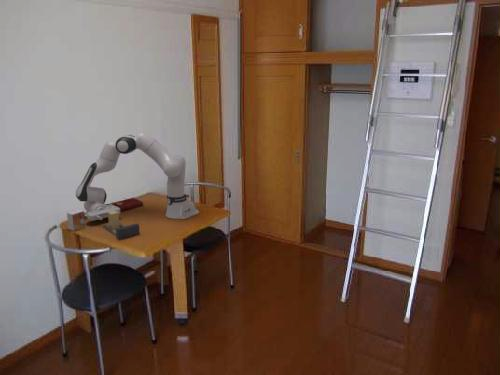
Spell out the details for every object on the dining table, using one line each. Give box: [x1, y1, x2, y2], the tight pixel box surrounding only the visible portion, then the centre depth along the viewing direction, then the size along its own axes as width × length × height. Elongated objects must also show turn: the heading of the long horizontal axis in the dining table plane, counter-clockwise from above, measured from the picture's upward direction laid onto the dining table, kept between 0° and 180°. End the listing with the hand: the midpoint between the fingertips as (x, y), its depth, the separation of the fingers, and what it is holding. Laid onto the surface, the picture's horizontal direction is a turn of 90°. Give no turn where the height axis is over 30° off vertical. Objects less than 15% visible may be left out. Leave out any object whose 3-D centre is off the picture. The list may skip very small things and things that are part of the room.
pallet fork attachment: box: [102, 222, 140, 241], centre depth 250 cm, size 13×24×6 cm, turn 44°
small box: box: [66, 209, 86, 232], centre depth 252 cm, size 8×6×10 cm
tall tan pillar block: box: [107, 211, 121, 231], centre depth 254 cm, size 4×4×10 cm
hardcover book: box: [109, 197, 144, 213], centre depth 291 cm, size 12×21×4 cm, turn 139°
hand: (109, 216), depth 258 cm, fingers open, 8 cm apart
